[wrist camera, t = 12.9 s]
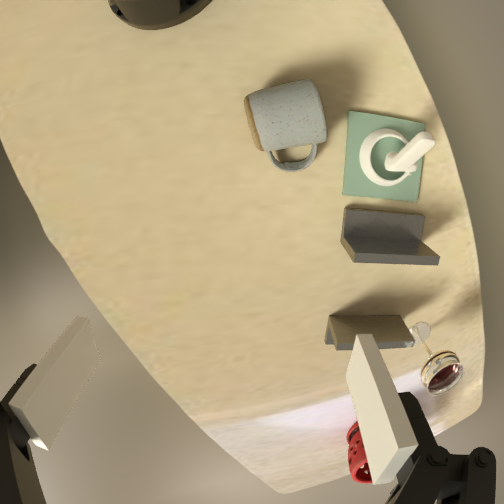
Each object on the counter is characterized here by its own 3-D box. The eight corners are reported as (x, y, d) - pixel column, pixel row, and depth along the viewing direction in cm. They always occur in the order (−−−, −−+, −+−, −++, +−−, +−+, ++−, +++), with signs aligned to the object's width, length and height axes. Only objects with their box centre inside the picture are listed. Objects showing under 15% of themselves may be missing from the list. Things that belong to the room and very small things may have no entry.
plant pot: (401, 429, 58) (415, 469, 47) (348, 448, 60) (356, 489, 49) (397, 398, 54) (415, 442, 43) (336, 419, 56) (346, 466, 45)
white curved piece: (435, 96, 29) (460, 146, 27) (393, 146, 41) (409, 189, 39) (386, 89, 28) (411, 143, 26) (348, 146, 40) (364, 192, 38)
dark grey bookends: (344, 207, 41) (359, 222, 34) (422, 214, 40) (445, 229, 34) (324, 340, 48) (331, 369, 42) (392, 339, 48) (406, 365, 42)
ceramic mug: (242, 97, 36) (238, 91, 29) (306, 82, 35) (316, 73, 28) (265, 177, 40) (266, 188, 33) (327, 162, 39) (341, 170, 32)
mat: (348, 110, 36) (349, 110, 35) (423, 123, 36) (425, 123, 35) (342, 194, 40) (343, 195, 39) (415, 201, 40) (417, 202, 39)
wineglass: (396, 350, 49) (419, 398, 38) (407, 318, 47) (436, 364, 36) (427, 348, 49) (454, 393, 38) (439, 317, 47) (471, 359, 35)
